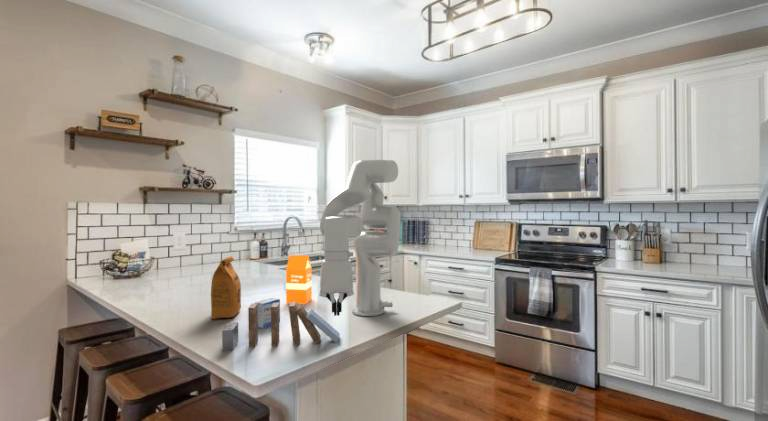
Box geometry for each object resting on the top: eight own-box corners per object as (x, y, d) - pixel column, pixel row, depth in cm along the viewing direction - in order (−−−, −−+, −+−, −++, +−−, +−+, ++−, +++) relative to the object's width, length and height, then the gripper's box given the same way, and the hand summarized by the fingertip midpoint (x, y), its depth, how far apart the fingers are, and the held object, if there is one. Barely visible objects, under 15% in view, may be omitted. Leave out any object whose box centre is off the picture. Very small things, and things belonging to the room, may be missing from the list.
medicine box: (263, 329, 132) (262, 303, 132) (254, 326, 134) (254, 302, 134) (280, 322, 139) (280, 298, 139) (271, 320, 141) (271, 297, 141)
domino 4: (320, 335, 123) (301, 303, 122) (320, 341, 118) (300, 307, 117) (315, 338, 123) (296, 306, 122) (315, 344, 118) (295, 310, 117)
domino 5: (335, 343, 119) (306, 317, 117) (335, 337, 124) (307, 313, 122) (339, 338, 119) (310, 313, 118) (339, 333, 124) (311, 308, 123)
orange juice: (292, 298, 173) (292, 254, 173) (311, 299, 172) (311, 254, 171) (286, 303, 165) (285, 256, 165) (305, 303, 164) (305, 256, 164)
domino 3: (300, 338, 122) (295, 301, 122) (299, 344, 117) (294, 305, 117) (294, 339, 122) (290, 302, 121) (293, 345, 117) (288, 306, 116)
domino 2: (279, 340, 121) (279, 302, 121) (277, 346, 116) (277, 306, 116) (273, 340, 121) (273, 302, 121) (271, 346, 116) (270, 307, 116)
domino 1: (257, 341, 120) (257, 303, 120) (255, 347, 115) (254, 307, 115) (251, 341, 120) (251, 303, 120) (248, 348, 115) (248, 308, 115)
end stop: (238, 341, 120) (238, 322, 120) (233, 350, 113) (232, 329, 113) (228, 342, 120) (228, 322, 120) (222, 350, 113) (222, 330, 113)
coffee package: (245, 310, 154) (244, 255, 154) (234, 320, 142) (233, 260, 141) (220, 310, 154) (219, 255, 153) (206, 320, 141) (206, 260, 141)
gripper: (359, 254, 126) (359, 310, 126) (312, 255, 123) (312, 312, 124) (361, 257, 118) (361, 316, 119) (311, 258, 116) (312, 319, 116)
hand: (336, 314), depth 121 cm, fingers closed
